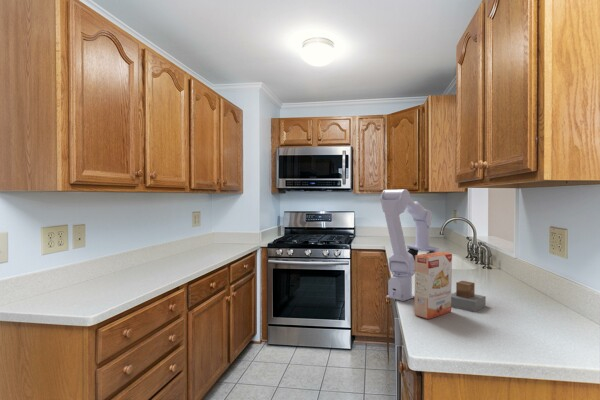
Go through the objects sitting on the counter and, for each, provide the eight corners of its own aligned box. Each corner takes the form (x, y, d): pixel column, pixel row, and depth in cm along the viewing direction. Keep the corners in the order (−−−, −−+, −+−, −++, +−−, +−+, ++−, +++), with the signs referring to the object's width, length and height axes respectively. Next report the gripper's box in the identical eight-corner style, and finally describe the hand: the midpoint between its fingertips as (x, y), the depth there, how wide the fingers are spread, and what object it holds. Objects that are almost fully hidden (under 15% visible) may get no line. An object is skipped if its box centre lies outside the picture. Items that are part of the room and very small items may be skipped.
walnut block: (468, 298, 131) (468, 284, 131) (456, 295, 134) (456, 282, 134) (474, 296, 134) (474, 282, 134) (462, 293, 137) (462, 280, 137)
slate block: (475, 313, 127) (475, 301, 127) (447, 306, 134) (447, 296, 134) (485, 306, 134) (485, 296, 134) (458, 301, 141) (458, 291, 141)
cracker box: (429, 320, 119) (429, 257, 118) (413, 315, 123) (413, 254, 123) (452, 312, 127) (452, 252, 126) (437, 307, 132) (437, 250, 131)
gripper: (442, 237, 156) (442, 268, 156) (413, 234, 167) (413, 263, 167) (433, 238, 151) (433, 270, 151) (404, 235, 162) (404, 265, 162)
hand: (422, 267), depth 159 cm, fingers open, 7 cm apart
